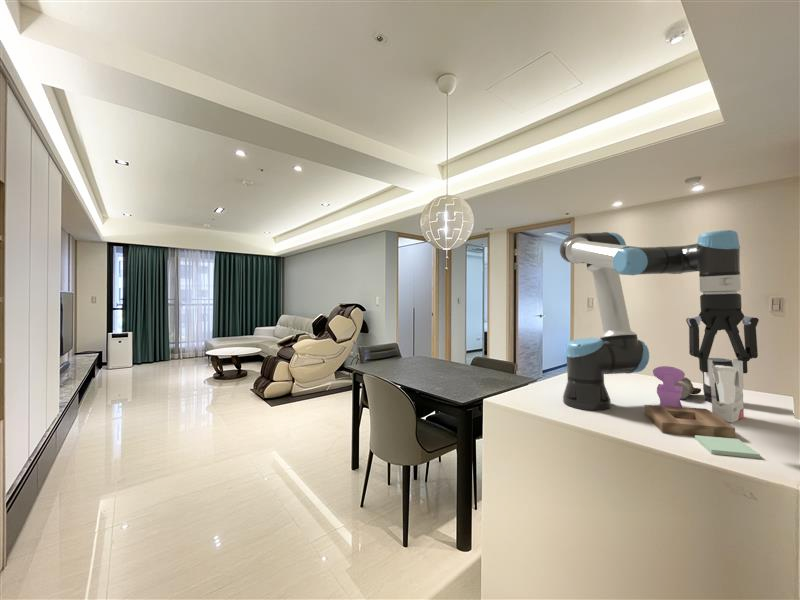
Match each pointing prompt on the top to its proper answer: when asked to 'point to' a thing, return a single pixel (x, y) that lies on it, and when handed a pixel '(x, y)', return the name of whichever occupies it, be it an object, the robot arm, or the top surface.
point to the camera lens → (708, 388)
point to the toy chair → (669, 385)
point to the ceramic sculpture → (687, 388)
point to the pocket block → (689, 421)
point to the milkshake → (724, 383)
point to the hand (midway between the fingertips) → (723, 385)
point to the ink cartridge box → (728, 406)
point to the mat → (726, 446)
